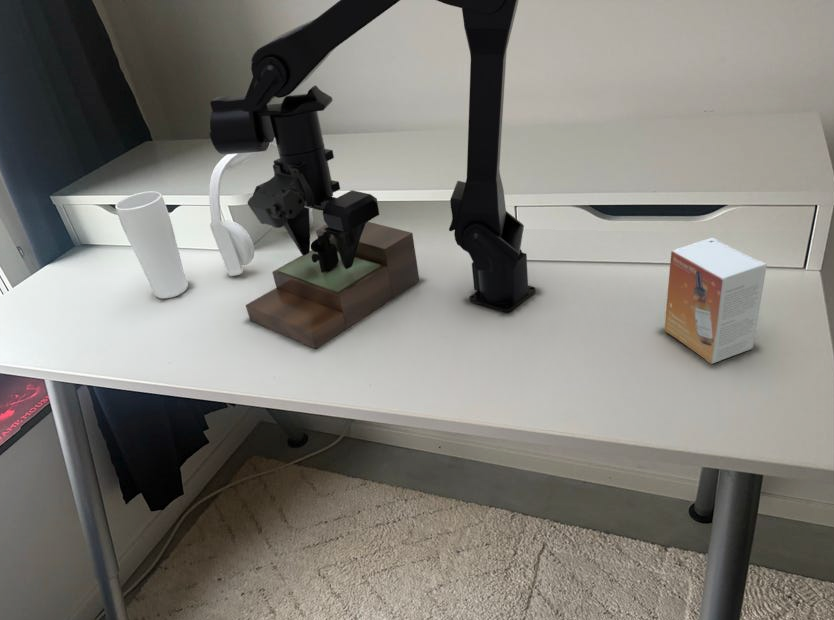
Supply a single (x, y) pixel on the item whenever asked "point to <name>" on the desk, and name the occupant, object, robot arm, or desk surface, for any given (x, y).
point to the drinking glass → (153, 242)
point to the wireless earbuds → (325, 252)
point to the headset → (228, 233)
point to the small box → (714, 299)
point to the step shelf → (337, 287)
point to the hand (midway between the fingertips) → (326, 260)
